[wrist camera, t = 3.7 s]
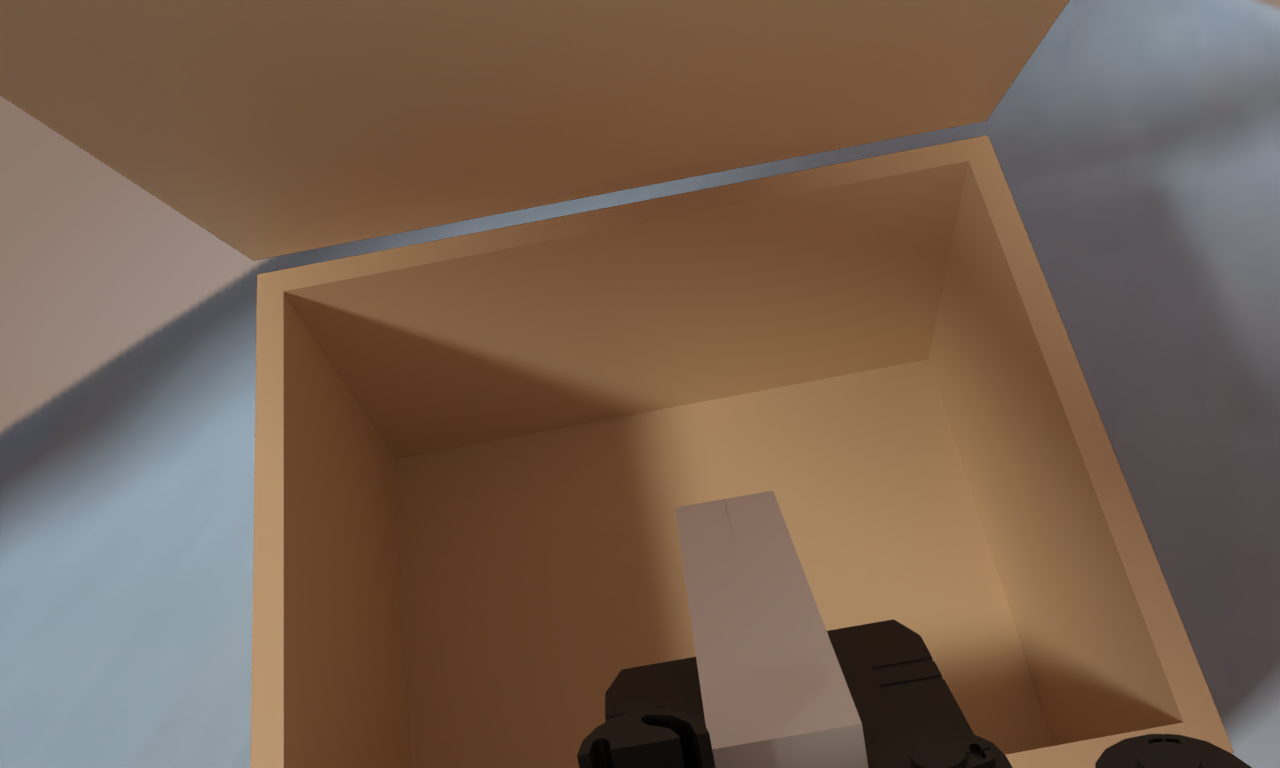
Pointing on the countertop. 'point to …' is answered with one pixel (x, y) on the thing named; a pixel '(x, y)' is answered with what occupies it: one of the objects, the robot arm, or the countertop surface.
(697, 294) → the carton
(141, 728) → the countertop surface
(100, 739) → the countertop surface
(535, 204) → the carton lid
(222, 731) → the countertop surface
